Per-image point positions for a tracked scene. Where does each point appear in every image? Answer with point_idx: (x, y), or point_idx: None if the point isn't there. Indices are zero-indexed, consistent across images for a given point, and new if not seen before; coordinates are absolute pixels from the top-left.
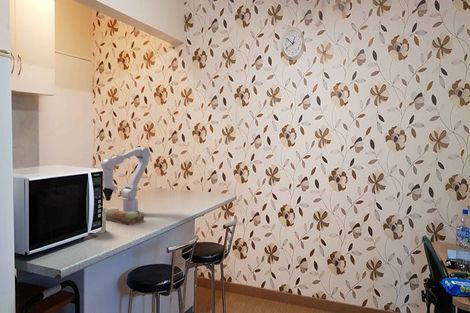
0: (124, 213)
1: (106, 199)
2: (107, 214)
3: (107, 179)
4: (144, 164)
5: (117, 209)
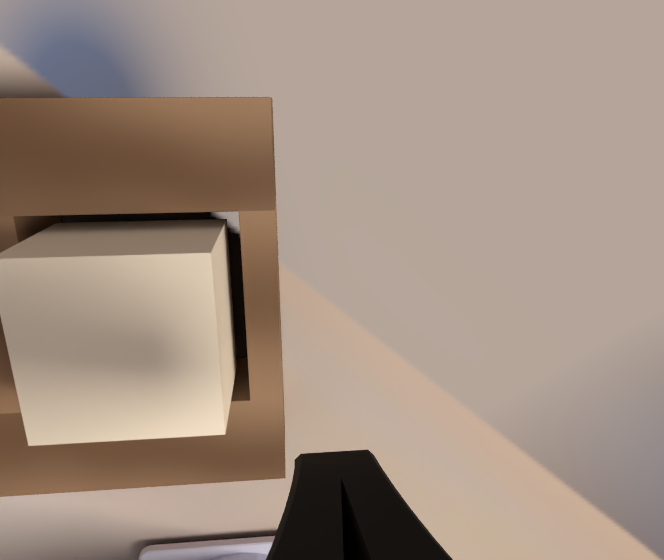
0: None
1: (343, 469)
2: (91, 155)
3: None
4: None
5: (28, 407)
